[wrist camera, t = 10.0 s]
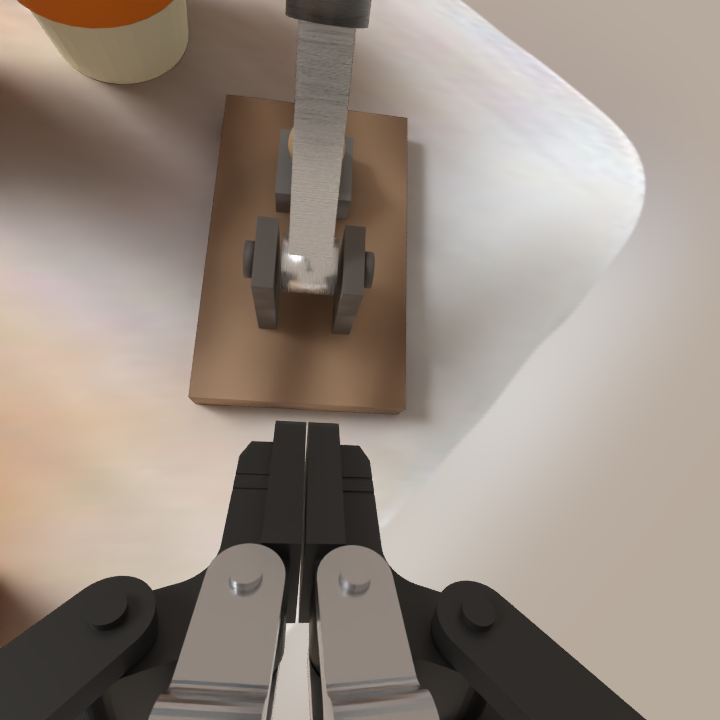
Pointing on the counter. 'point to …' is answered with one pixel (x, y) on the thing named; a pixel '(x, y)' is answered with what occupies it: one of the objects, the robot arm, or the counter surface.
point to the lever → (319, 139)
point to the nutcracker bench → (302, 310)
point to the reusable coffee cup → (115, 35)
